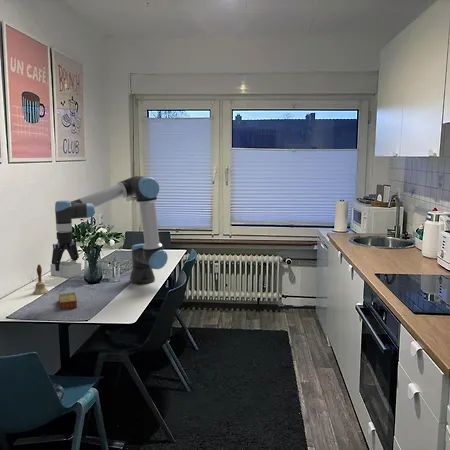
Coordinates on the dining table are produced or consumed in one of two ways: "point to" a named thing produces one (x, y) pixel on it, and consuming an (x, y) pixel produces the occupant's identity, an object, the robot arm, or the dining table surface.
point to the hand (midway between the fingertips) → (66, 274)
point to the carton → (67, 301)
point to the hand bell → (40, 283)
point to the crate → (67, 269)
